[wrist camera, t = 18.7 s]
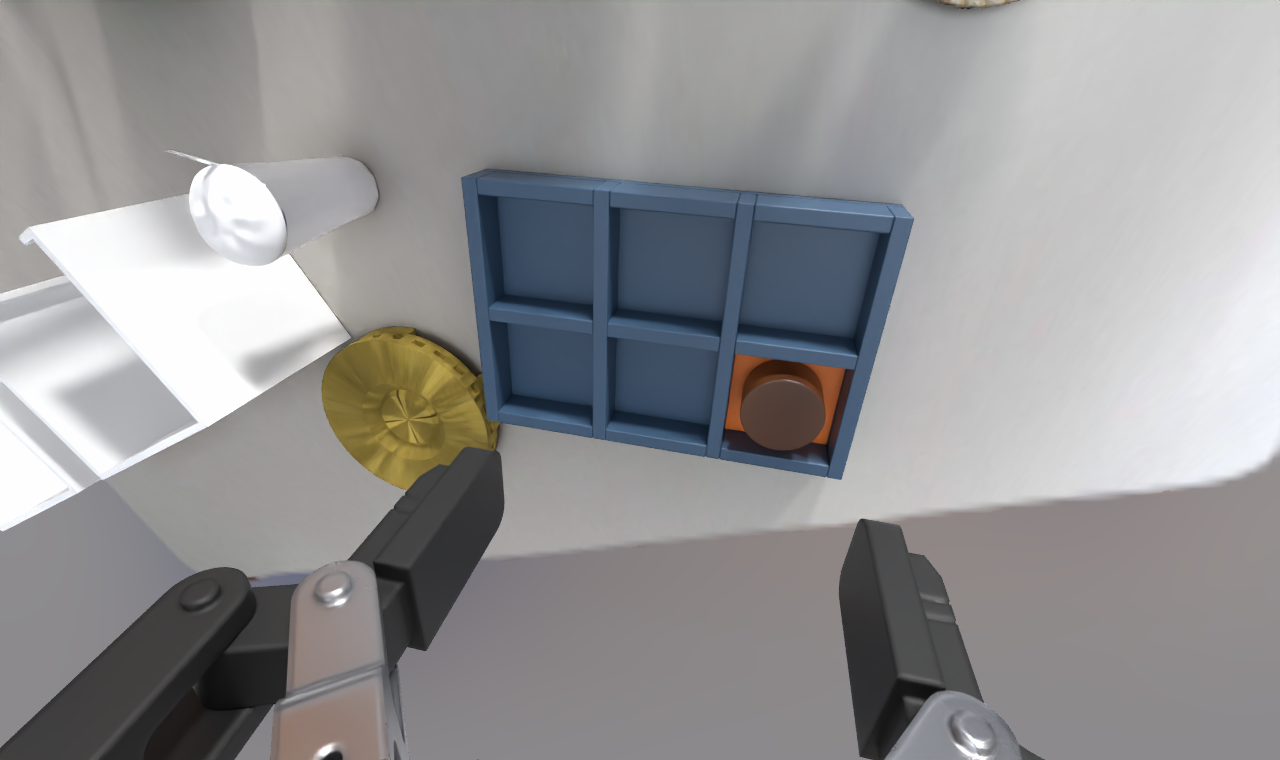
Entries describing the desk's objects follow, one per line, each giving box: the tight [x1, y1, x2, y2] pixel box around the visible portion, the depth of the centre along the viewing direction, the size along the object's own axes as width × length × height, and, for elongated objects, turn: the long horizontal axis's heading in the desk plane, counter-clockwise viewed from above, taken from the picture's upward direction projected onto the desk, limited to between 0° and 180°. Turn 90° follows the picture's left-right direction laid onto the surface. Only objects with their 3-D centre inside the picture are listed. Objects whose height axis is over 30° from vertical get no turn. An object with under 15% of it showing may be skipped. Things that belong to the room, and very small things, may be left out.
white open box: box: [0, 193, 351, 531], centre depth 36 cm, size 25×11×11 cm, turn 118°
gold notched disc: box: [322, 327, 501, 490], centre depth 38 cm, size 12×12×2 cm
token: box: [740, 359, 826, 450], centre depth 31 cm, size 4×4×2 cm
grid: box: [461, 169, 914, 480], centre depth 31 cm, size 21×14×3 cm
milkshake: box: [164, 150, 379, 266], centre depth 28 cm, size 5×5×10 cm
